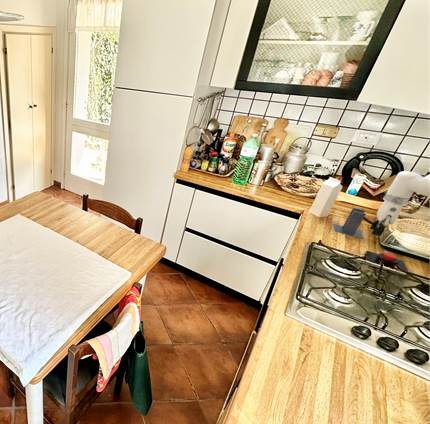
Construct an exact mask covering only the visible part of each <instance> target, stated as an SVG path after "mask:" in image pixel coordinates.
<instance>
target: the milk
mask: <svg viewBox="0 0 430 424" xmlns="http://www.w3.org/2000/svg"><path fill="white" fill-rule="evenodd" d="M341 182H342V181H341V180H340V179H337V178H334V177H332V176H330V177H329V178H328V179H327V180H325V181H323V182H322V183H321V185H320V188H319V190H318V192H317V194H316V196H315V199H314V200H313V202H312V203H311V204H312V205H311V206H310V209H309V211H308V212H309V213H310V214H312V215H313V216H316V217H317V218H324V217H329V214H330V213H331V211H332V209H333V207H334V205H335V203H336V201H337V199H338V197H339V195H340V193H341V191H342V189H343V185H342V184H341Z"/></svg>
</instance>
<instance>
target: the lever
mask: <svg viewBox="0 0 430 424" xmlns="http://www.w3.org/2000/svg"><path fill="white" fill-rule="evenodd" d="M356 211H358V210H356ZM358 212H360V211H358ZM363 221H365V222H367V223H368V224H370V225H371V226H372V225H373V226H374V227H377V225H378V224H375V223H374V221H372V220H370V219H369V218H367V217H366V216H365V217H364V218H363Z"/></svg>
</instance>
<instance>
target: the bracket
mask: <svg viewBox="0 0 430 424" xmlns="http://www.w3.org/2000/svg"><path fill="white" fill-rule="evenodd" d="M356 210H358V211H360V212H358V211H356ZM366 215H367V213H366V210H365V209H361V208H357V207H352V209H351V210H350V212H349V215H348V216H347V218H346V219H345V221H344V223H343V225H342V224H341V225H340V224H336V223H333V231H334V232H335V233H339V234H342V235H346V236H351V237H354V238H358V239H362V240H363V239H364V234H363V231H362V230H360V229H359V227H360V225H361V223H362V222H363V221H364V219H363V218H364V217H366Z"/></svg>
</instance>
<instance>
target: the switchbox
mask: <svg viewBox="0 0 430 424" xmlns="http://www.w3.org/2000/svg"><path fill="white" fill-rule="evenodd" d="M384 253H385V252H379V253H377V252H373V251H369V250H366V251H365V253H364V254H363V256H364V258H365V257H366V258H367V260H368V261H370V262H373V263H378V262H379V260H381V259H382V260H383V264H384V266H386V267H390V268H393V266H394V265H395V264H397V265H398V267H399V268H400V269H402V270H403V271H405V272H408V273H409V271H408V268H407V266H406V263H405V260H402V259H399V258H397V257H396V258H395V260H394V261H391V260H387V259H385V258H384V257H383V255H384Z"/></svg>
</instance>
